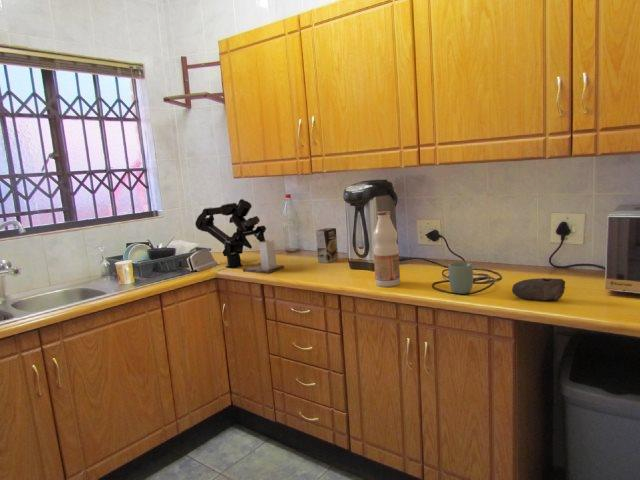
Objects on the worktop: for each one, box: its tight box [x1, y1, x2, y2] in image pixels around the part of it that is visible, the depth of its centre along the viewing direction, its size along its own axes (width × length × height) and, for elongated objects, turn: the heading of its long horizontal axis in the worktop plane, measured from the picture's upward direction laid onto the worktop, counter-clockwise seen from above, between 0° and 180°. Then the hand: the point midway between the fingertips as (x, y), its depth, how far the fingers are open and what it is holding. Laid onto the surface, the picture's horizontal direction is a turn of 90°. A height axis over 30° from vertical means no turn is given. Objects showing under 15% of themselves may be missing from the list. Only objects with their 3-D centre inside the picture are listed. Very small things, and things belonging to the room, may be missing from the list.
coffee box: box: [315, 227, 339, 264], centre depth 223 cm, size 9×6×16 cm
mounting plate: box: [242, 263, 285, 275], centre depth 216 cm, size 16×12×1 cm
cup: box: [448, 261, 474, 295], centre depth 153 cm, size 8×8×10 cm
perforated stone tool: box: [511, 277, 566, 302], centre depth 140 cm, size 15×5×7 cm, turn 61°
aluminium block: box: [258, 239, 277, 270], centre depth 212 cm, size 5×5×13 cm
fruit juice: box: [372, 210, 401, 288], centre depth 170 cm, size 9×9×28 cm
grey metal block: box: [186, 250, 219, 272], centre depth 232 cm, size 17×5×10 cm, turn 155°
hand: (258, 246), depth 215 cm, fingers open, 9 cm apart
